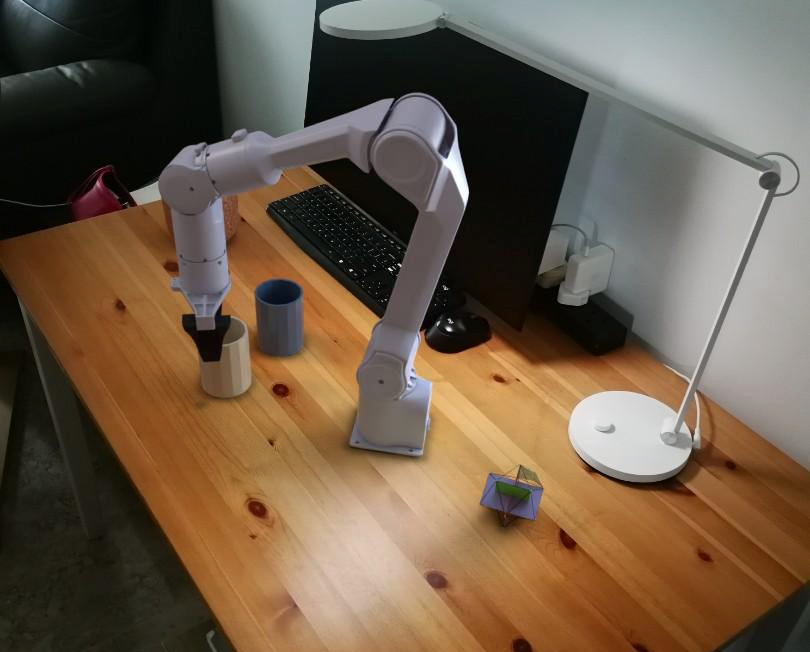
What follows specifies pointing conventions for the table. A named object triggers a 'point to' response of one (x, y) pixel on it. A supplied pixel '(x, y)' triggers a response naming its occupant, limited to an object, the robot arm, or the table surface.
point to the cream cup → (229, 364)
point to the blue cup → (279, 317)
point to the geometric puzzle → (513, 494)
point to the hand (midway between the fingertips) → (211, 341)
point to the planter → (228, 213)
